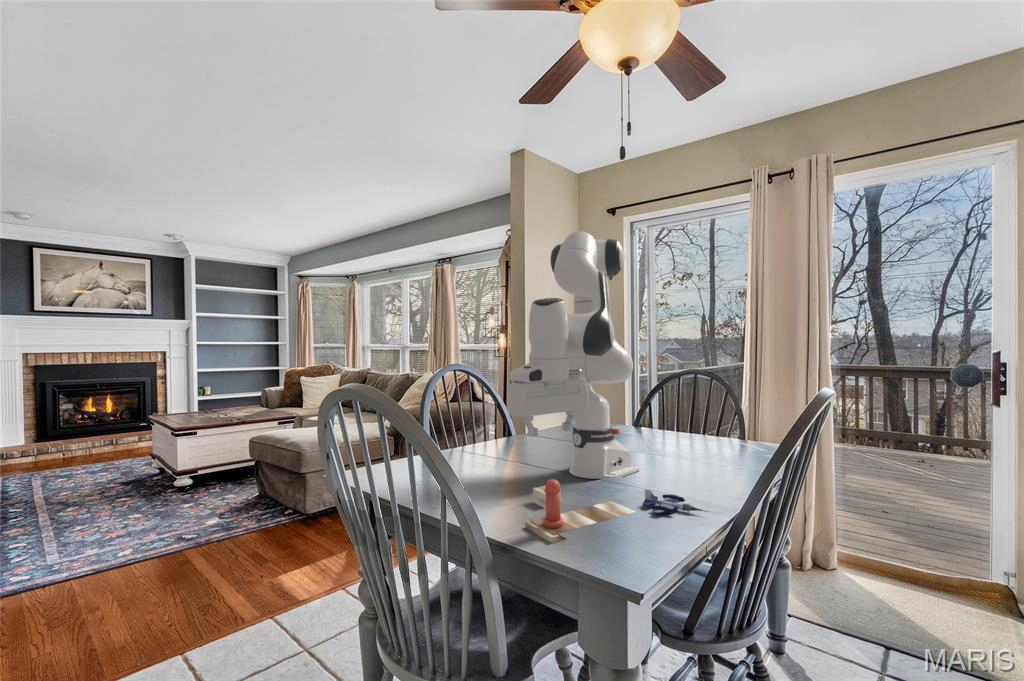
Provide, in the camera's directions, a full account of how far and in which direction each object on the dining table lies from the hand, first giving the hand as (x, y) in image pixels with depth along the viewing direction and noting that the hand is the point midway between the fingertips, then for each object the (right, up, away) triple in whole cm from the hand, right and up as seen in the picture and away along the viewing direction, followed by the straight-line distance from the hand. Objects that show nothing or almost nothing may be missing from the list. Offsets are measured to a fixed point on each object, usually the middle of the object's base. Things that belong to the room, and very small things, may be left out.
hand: (550, 433), depth 107 cm
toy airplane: (+29, -21, +7) cm, 37 cm away
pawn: (0, -20, -1) cm, 20 cm away
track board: (+8, -21, +3) cm, 23 cm away
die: (0, -21, +12) cm, 25 cm away
